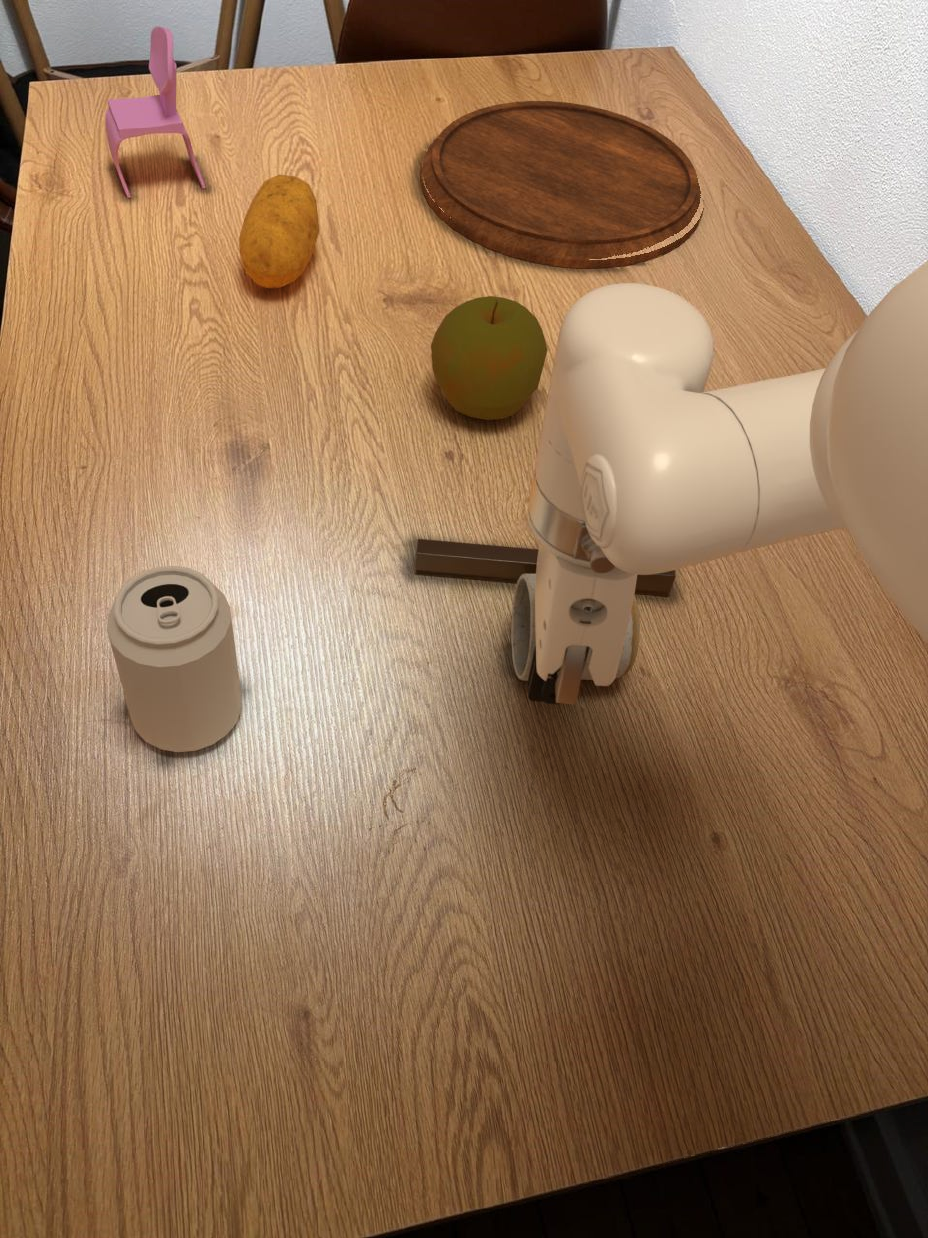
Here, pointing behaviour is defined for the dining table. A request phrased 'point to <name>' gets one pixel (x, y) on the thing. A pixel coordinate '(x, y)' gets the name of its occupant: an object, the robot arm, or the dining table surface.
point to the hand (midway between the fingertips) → (550, 692)
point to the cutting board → (561, 184)
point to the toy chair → (150, 105)
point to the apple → (488, 357)
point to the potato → (279, 231)
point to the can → (176, 658)
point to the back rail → (503, 564)
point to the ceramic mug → (526, 636)
